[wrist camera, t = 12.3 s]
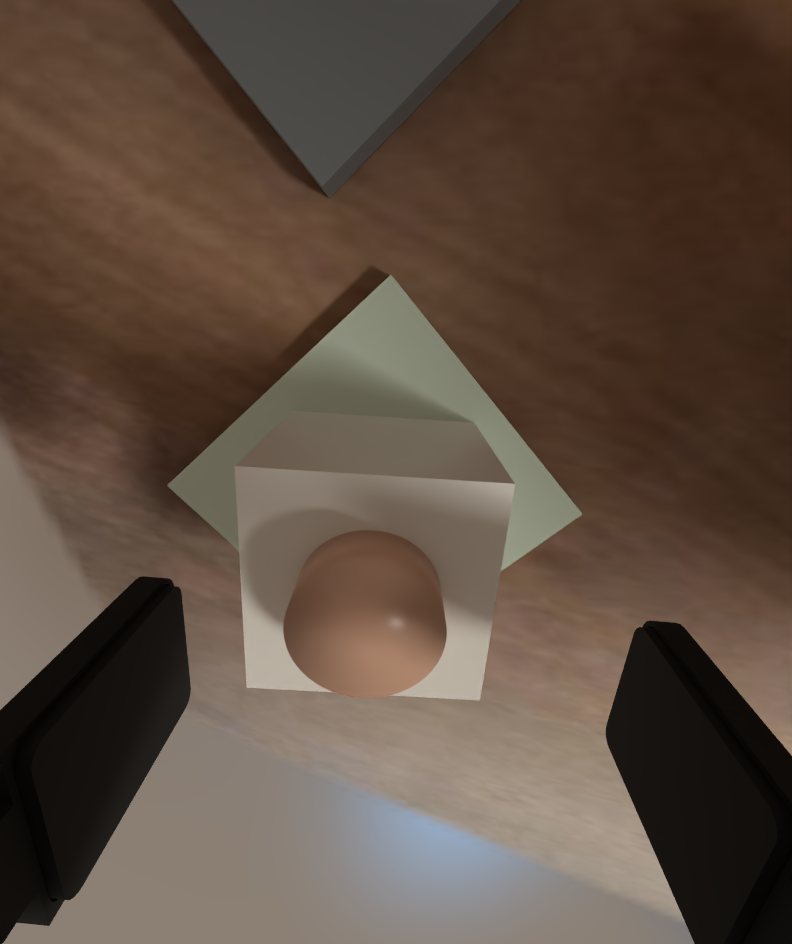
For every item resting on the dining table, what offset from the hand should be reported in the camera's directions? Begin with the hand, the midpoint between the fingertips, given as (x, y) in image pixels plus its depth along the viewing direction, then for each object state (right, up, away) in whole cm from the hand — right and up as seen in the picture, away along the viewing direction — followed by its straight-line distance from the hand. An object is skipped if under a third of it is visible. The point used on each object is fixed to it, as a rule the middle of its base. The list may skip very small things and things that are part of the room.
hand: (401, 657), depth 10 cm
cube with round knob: (-1, +3, +8) cm, 8 cm away
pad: (-1, +3, +8) cm, 9 cm away
